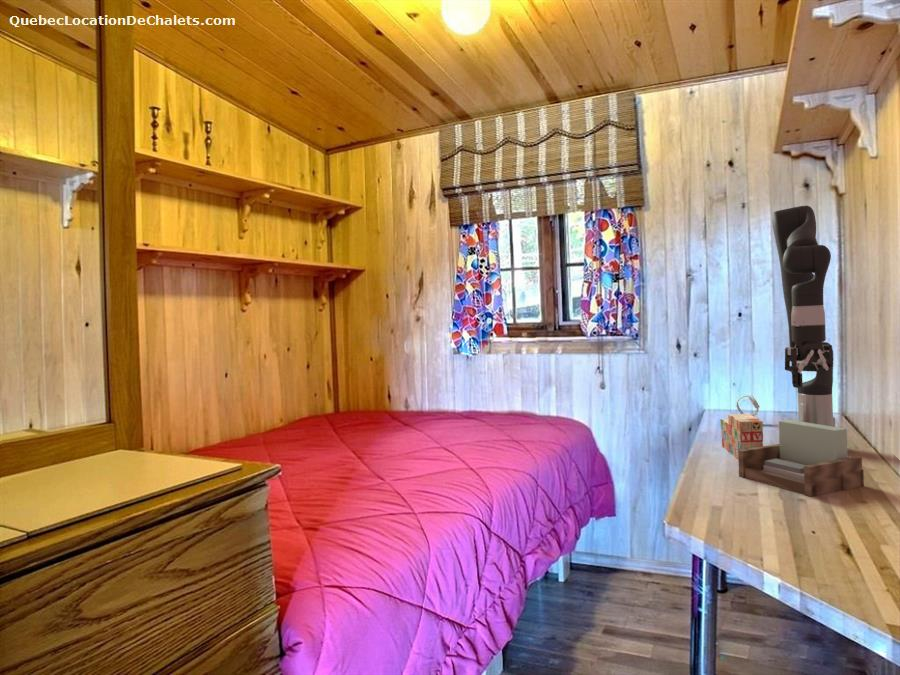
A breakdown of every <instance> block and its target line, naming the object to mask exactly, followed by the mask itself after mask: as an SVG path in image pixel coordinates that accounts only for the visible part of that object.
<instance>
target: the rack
mask: <svg viewBox="0 0 900 675" xmlns="http://www.w3.org/2000/svg"><path fill="white" fill-rule="evenodd" d="M738 459H739V460H738ZM738 459H737V460H738V476H739V477H742V478H747V479H750V480H754V481H757V482H760V483H764V484H767V485H771V486H774V487H779V488H781V489H785V490H788V491H792V492H795V493H799V494H803V495H804V496H807V497H815V496H821V495H826V494H831V493H837V492H841V491H844V490H845V491H846V490H849V489H855V488H856V489H857V488H861V487H864V486H865V478H864V477H865V476H864V472H865V471H864V469H863V460H862V459H863V458H862V457H860V456H852V457H848V458H845V459H840V460H834V461H828V462H823V463H817V464H812V465H806V466H804V482H803V481H800V480H796V479H792V478H788V477H784V476H781V475H777V474H773V473H769V472H765V471H762V470H764V465H765V462H764V461H766V460H771V459H780V443H776V444H770V445H769V444H768V445H763V446H762V447H756V448H749V449H743V450H738ZM780 460H783V459H780ZM784 461H788V460H784ZM789 462H792V461H789ZM793 463H796V462H793ZM798 464H800V463H798ZM803 465H805V464H803ZM860 486H861V487H860Z"/></svg>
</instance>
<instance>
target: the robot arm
mask: <svg viewBox="0 0 900 675" xmlns="http://www.w3.org/2000/svg"><path fill="white" fill-rule="evenodd" d="M771 216H772V217H771V224H772V229H773V230H772V231H773V235H774V240H775V245H776V250H777V255H778V259H779V265H780V266H779V267H780V273H781V274H780V275H781V284H782V285H781V286H782V292H783V300H784V306H785V311H786V317H787V324H788V325H787V326H788V337H789V338H788V340H789V347H785V348H784V370H785V371H787V372H790V373H791V382H792V384H791V385H792V387H793V388H795V389H796V388H797V410H798V414H797V415H798V417H797V418H798V421H801V422H807V423H813V424H819V425H826V426H832V427H836V418H835V417H834V410H833V409H834V407H833V406H834V405H833V404H834V403H833V387H834V386H833V384H834V350H833V346H832V344H830V343H829V342H826V340H827V337H826V313H825V307H824V306H825V305H824V303H825V302H824V285H825V280H826V276H827V272H828V269H829V266H830V263H831V260H832V259H831V258H832V257H831V251H830V249H829V248H828V246H826V245H824V244H819V243H818V241H817V236H816V235H817V219H816V214H815V211H814V209H813V208H812V207H811V206H809V205H799V206H793V207H790V208H789V207H788V208H784V209H780V210H779V209H778V210H776V211H774V212H773V214H772V215H771ZM802 372H816V373H815V377H814V378H812V379H810V380H807V381H803V373H802Z"/></svg>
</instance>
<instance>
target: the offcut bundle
mask: <svg viewBox="0 0 900 675" xmlns="http://www.w3.org/2000/svg"><path fill="white" fill-rule="evenodd" d="M764 462H765V465H764V470H762V471H765V472H769V473H773V474H777V475H781V476H784V477H788V478H792V479H796V480H800V481H803V482H804V466H806V465H803V464H798V463H793V462H789V461H784V460H780V459H771V460H766V461H764Z"/></svg>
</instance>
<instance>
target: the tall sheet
mask: <svg viewBox="0 0 900 675" xmlns="http://www.w3.org/2000/svg"><path fill="white" fill-rule="evenodd" d="M778 431H779V432H778V436H779V438H778V439H779V441H778V442H779V443H778V444H780V459H783V460H788V461H792V462H796V463H800V464H805V465H812V464H817V463H823V462H828V461H834V460H840V459H845V458H849V457H848V433H847V431H848V429H847V428H843V427H837V426H835V427H832V426H826V425H819V424H813V423H807V422H801V421H799V420H794V419H786V420H785V419H784V420H779V421H778Z"/></svg>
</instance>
